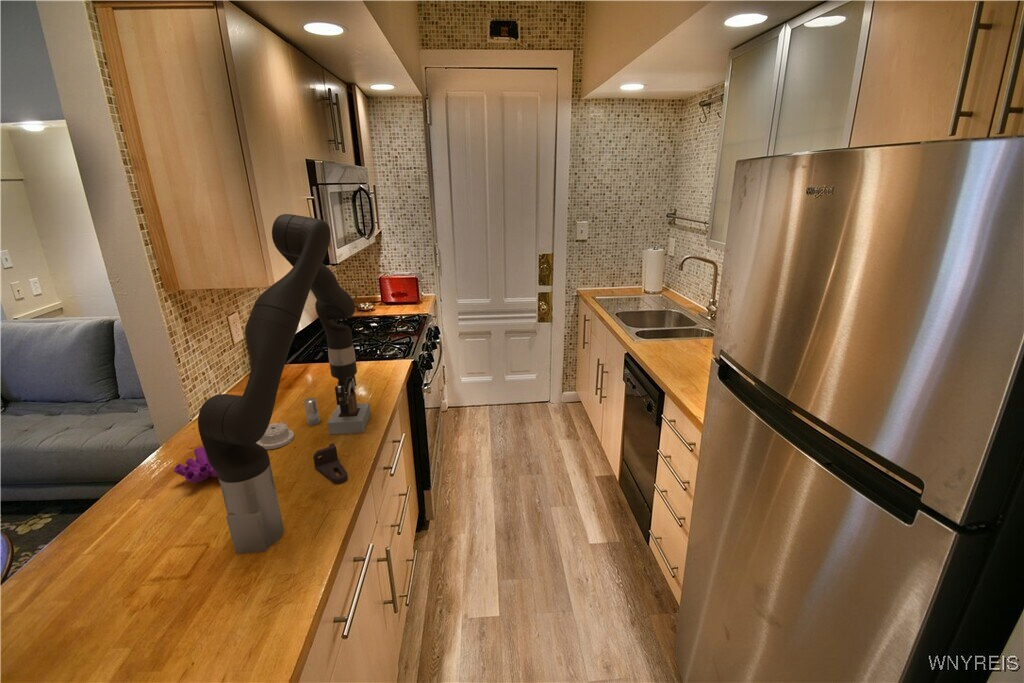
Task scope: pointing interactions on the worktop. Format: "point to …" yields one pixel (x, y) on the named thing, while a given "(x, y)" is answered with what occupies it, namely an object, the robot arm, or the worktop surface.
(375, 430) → the worktop surface
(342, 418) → the socket block
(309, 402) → the grey metallic cylinder
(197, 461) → the purple coral piece
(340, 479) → the bracket
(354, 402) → the walnut peg
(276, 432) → the mechanical component
